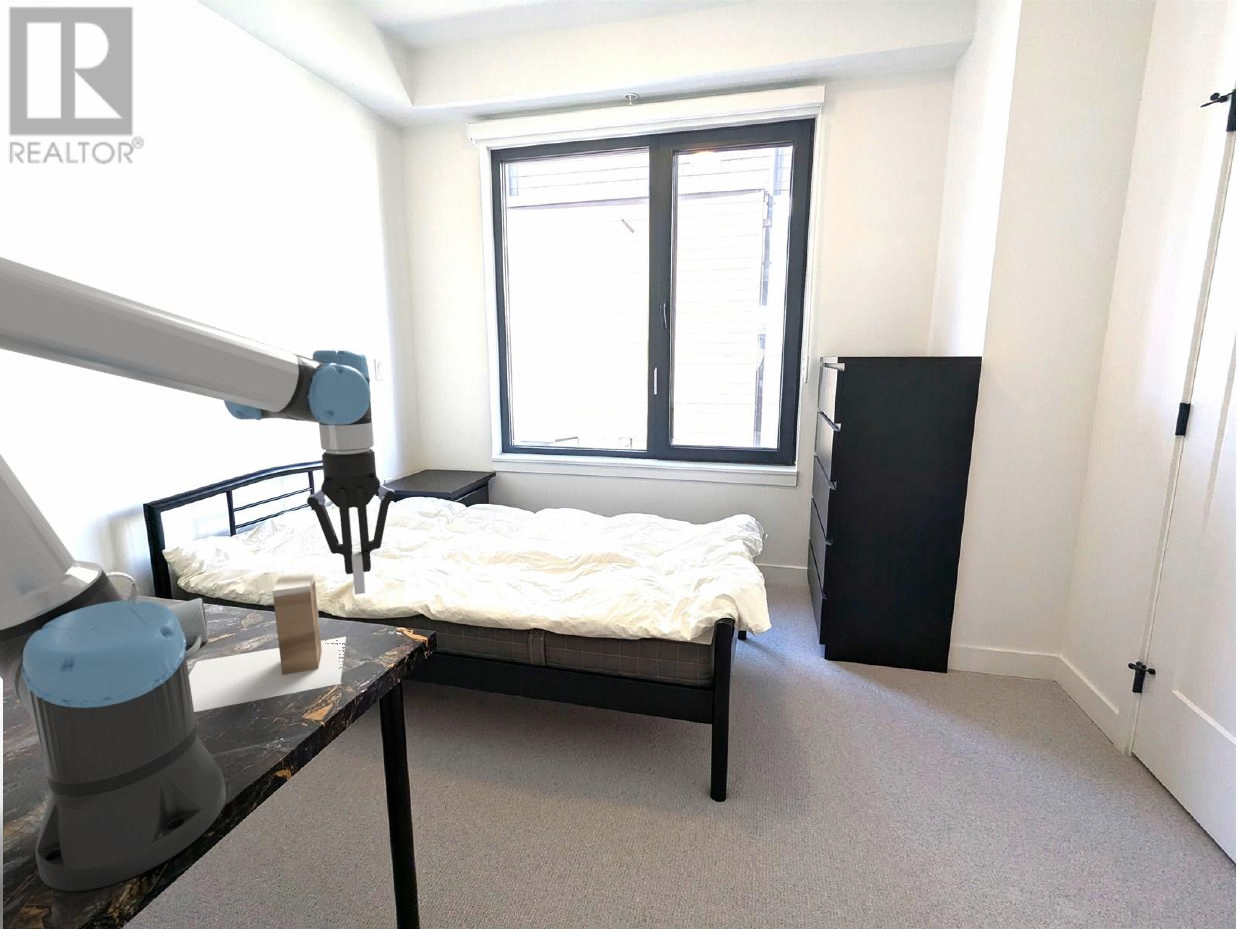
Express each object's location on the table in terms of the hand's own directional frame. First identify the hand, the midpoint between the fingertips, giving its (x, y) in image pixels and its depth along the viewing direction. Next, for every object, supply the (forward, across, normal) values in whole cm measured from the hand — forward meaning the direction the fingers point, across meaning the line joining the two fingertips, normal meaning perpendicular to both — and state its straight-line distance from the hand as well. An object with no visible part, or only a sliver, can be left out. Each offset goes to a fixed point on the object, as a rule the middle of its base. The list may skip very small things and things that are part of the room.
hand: (360, 590), depth 93 cm
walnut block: (+11, +9, 0) cm, 14 cm away
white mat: (+11, +14, +1) cm, 18 cm away
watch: (+12, +42, -26) cm, 51 cm away
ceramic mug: (+12, +29, -14) cm, 34 cm away
